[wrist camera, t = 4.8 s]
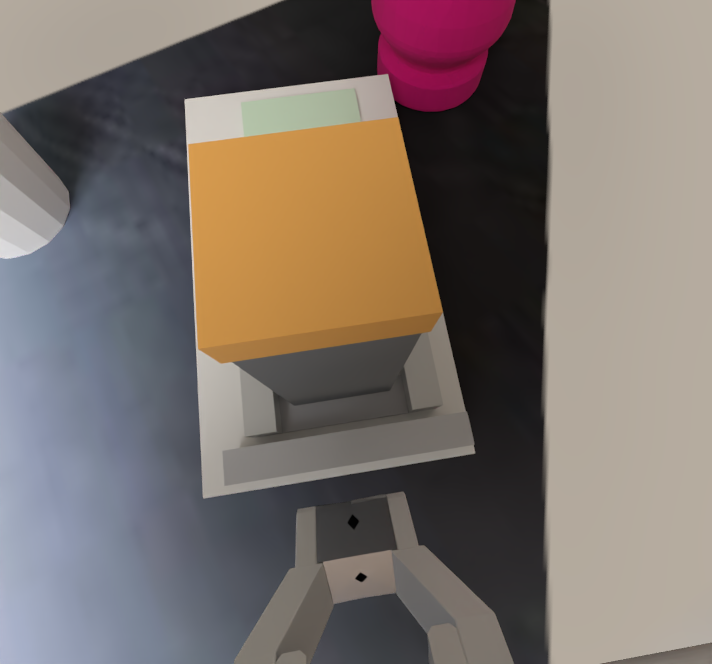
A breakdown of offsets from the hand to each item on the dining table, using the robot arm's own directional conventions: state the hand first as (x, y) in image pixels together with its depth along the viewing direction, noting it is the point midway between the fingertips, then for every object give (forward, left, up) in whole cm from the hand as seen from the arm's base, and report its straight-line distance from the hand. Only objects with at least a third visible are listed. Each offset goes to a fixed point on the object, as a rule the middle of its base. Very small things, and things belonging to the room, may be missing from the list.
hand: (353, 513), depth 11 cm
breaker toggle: (0, +6, -5) cm, 7 cm away
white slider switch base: (0, +11, -7) cm, 13 cm away
